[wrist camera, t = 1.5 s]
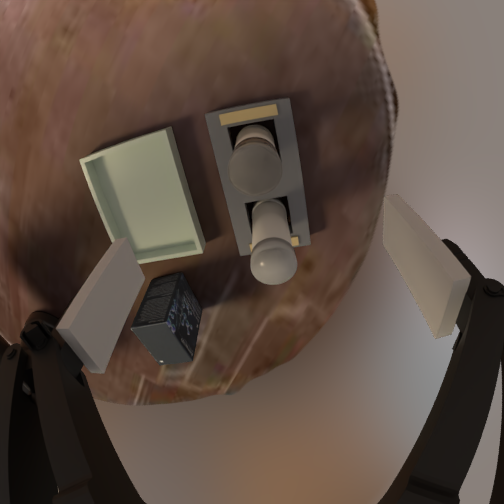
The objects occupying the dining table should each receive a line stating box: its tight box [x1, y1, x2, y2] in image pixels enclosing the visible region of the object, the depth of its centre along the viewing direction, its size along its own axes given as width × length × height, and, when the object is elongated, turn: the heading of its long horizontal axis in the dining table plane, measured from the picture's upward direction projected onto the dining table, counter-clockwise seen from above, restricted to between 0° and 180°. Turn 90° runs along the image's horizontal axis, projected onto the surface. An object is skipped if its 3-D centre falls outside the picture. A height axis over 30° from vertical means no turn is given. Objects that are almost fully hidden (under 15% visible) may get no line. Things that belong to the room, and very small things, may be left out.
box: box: [131, 272, 202, 365], centre depth 40 cm, size 8×6×11 cm
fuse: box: [251, 197, 297, 285], centre depth 32 cm, size 4×4×12 cm
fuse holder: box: [205, 97, 311, 256], centre depth 34 cm, size 18×9×2 cm, turn 11°
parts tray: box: [80, 126, 206, 264], centre depth 35 cm, size 16×12×2 cm
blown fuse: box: [227, 124, 283, 196], centre depth 27 cm, size 4×4×12 cm
